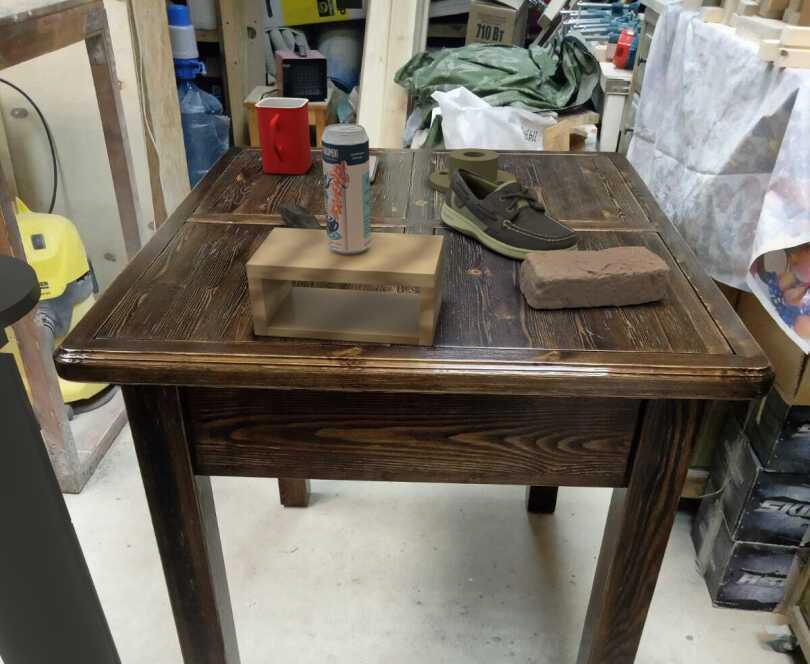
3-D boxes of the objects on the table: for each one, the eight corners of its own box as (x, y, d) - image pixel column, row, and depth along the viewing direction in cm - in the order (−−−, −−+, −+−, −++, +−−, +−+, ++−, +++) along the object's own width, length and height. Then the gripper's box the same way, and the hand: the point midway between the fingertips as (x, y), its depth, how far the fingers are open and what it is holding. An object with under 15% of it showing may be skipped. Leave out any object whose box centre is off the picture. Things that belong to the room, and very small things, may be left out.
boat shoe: (552, 273, 100) (561, 208, 95) (416, 229, 113) (417, 170, 108) (594, 255, 106) (605, 192, 100) (459, 215, 119) (462, 157, 114)
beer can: (323, 243, 85) (316, 124, 77) (364, 239, 86) (361, 121, 78) (333, 258, 82) (327, 134, 74) (376, 253, 83) (374, 131, 75)
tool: (366, 270, 104) (368, 248, 102) (315, 276, 101) (316, 253, 99) (303, 213, 116) (304, 192, 114) (256, 216, 113) (255, 195, 111)
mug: (271, 161, 142) (265, 97, 136) (314, 163, 142) (310, 98, 135) (254, 179, 133) (246, 111, 126) (300, 181, 133) (294, 112, 126)
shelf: (254, 335, 85) (245, 264, 80) (281, 293, 94) (274, 227, 89) (432, 346, 84) (434, 273, 78) (441, 302, 93) (444, 235, 88)
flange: (495, 170, 121) (532, 150, 131) (414, 157, 127) (455, 139, 137) (493, 201, 124) (529, 179, 134) (413, 187, 130) (453, 168, 140)
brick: (533, 312, 91) (538, 272, 88) (516, 285, 97) (520, 247, 94) (665, 306, 93) (674, 268, 90) (640, 280, 99) (648, 243, 96)
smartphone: (332, 178, 131) (341, 156, 142) (333, 184, 131) (341, 161, 143) (374, 177, 131) (379, 155, 142) (374, 183, 131) (379, 161, 143)
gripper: (377, -297, 63) (380, 14, 76) (395, -250, 82) (395, -8, 95) (287, -297, 63) (306, 13, 77) (326, -250, 82) (336, -9, 96)
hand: (355, 2), depth 86 cm, fingers open, 13 cm apart
